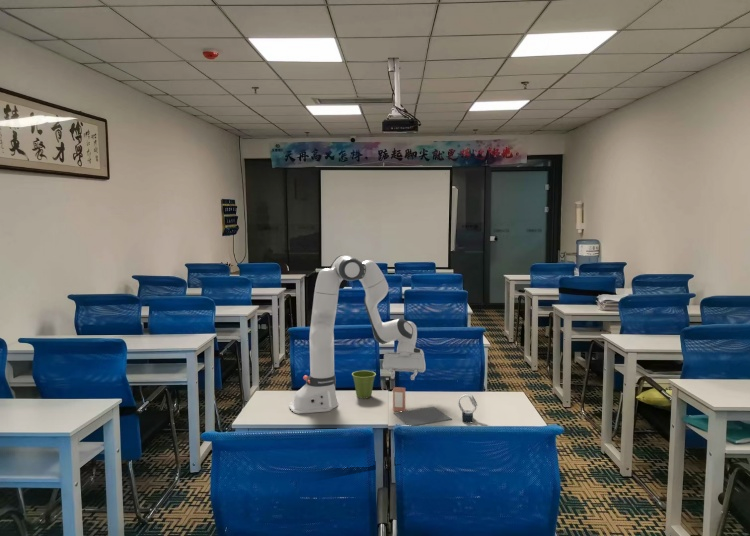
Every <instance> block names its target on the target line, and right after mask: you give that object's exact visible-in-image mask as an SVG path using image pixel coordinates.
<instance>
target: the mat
mask: <svg viewBox="0 0 750 536" xmlns="http://www.w3.org/2000/svg"><path fill="white" fill-rule="evenodd" d="M393 415H395V416H396V417H397V418H399V419H400V420H401V421H402V420H403V421H404V422H405V423H404V424H406V423H407V424H408V425H417V426H420V425H421V426H422V425H428V424H432V423H440V422H445V421H452V418H451V417H450V415H447V414H446V413H444V412H443V411H441V410H440V409H438V408H437V407H436V406H430V407H429V406H428V407H422V408H417V409H411V410H410V409H409V410H405V411H402V412H399V411H395V412H393ZM403 421H402V422H403ZM407 424H406V425H407ZM408 425H407V426H408Z"/></svg>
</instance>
